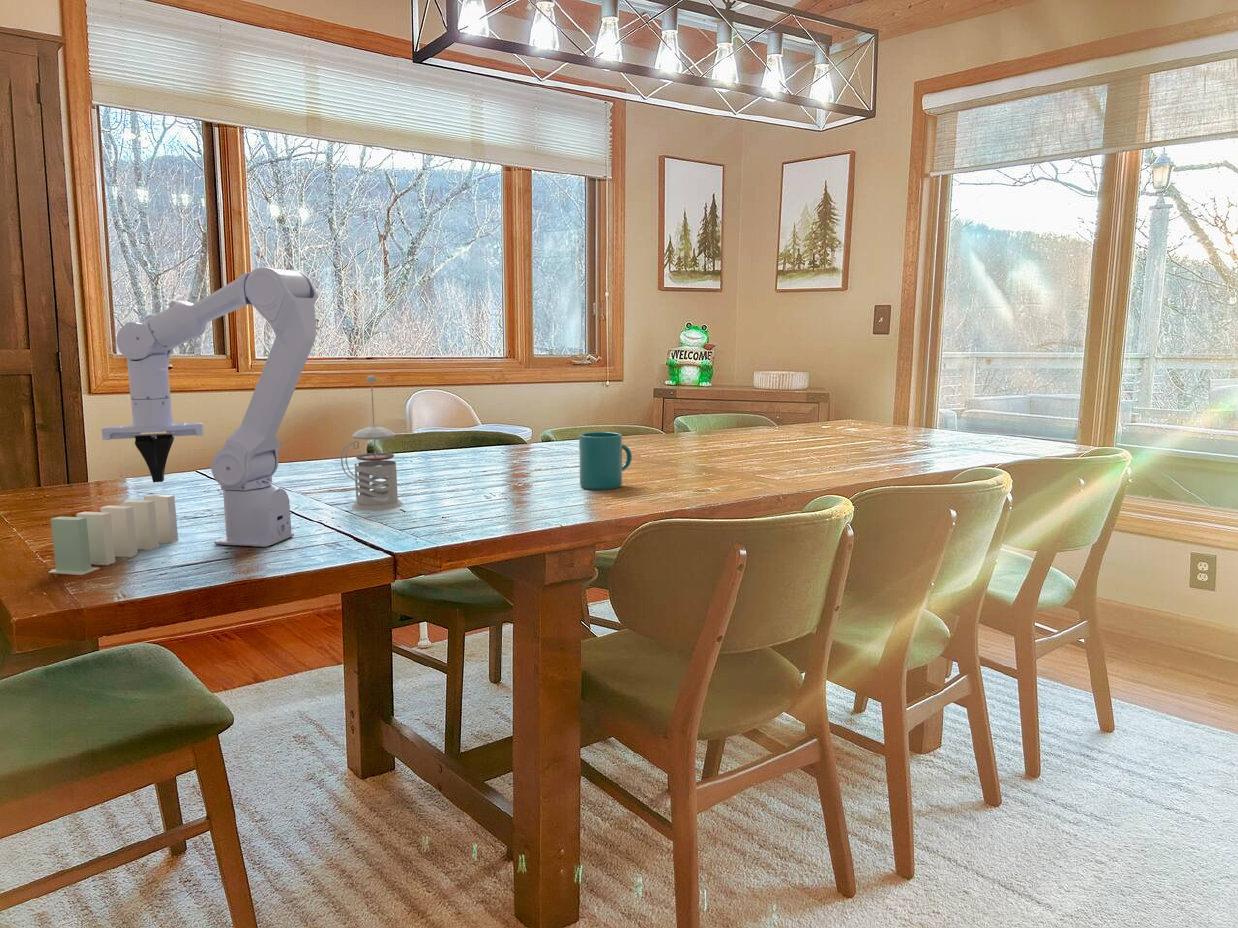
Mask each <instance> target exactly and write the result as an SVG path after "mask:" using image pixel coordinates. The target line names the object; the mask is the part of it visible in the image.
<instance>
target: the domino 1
mask: <svg viewBox="0 0 1238 928" xmlns="http://www.w3.org/2000/svg"><path fill="white" fill-rule="evenodd" d="M50 526H51V536H52V543H53V544H52V545H53V546H52V547H53V554H54V563H55V569H56V570H57V571H74V572H84V571H87V570H90V569H92V568H91V567H92V564H91V559H90V549H89V539H88V529H87V519H86V518H82V517H77V516H57V517H53V518H50Z"/></svg>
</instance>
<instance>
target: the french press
mask: <svg viewBox="0 0 1238 928" xmlns="http://www.w3.org/2000/svg"><path fill="white" fill-rule="evenodd" d="M365 382H366V383H370V385H371V386H370V388H371V409H372V411H371V412H372V425H371V426H367V427H364V428H361V429H358V430H357V431H356V432H355V433H353V434H352V435H351V436H352V437H353V439H356V440H354V441H351V442H350V443H348V444H346V445H345V446H344V447H343V449H342V451H341V455H340V464H341V467H342V470H343V472H344V474H345V475H346V476H347V477H348V478H350V479H352V480H353V481H354V483H355V487H354V488H355V497H356V499H355V502H353V504H352V505H351V508H352V509H353V510H356V511H357V510H358V511H366V512H367V511H368V512H369V511H384V510H385V511H386V510H392V509H397V508H400V507H402V506H403V505H404V503H403V501H402V500H401V499H399V498H398V477H397V476H398V475H397V472H398V471H397V462H396V461H394V460H393V461H392V460H391V459H393V458H394V457H395V454H394V453H390V452H376V450H377V449H376V440H389V439H392V438H395V437H396V435H397V433H395V432H393V430H390V429H388V428H386V427H383V426H382V427H381V426H377V425H375V414H374V413H375V412H374V395H373V394H374V393H373V382H374V383H375V382H377V378H376V376H374V375H368V376H367V377H366V381H365ZM357 440H373V446H374V452H369V453H367V452H366V453H361V454H357V455H355V459H357V460H359V462H358V465H357V463H354V473H353V472H352V471H351V470H350V467H349V464H348V460H347V459H348V457H347V455H348V451H349V449H350V447H351V446H352V445H353V446H352V447H353V449H354V450H357V449H358V448H360V442H359V441H357ZM356 443H357V447H356ZM346 448H347V449H346ZM345 450H346V451H345ZM344 452H345V455H344ZM343 455H344V457H345V466H346V469H347V471H348V473H350V474H351V475H352V476H350V475H349V474H348V473H347V471H346V469H345V467H344V464H343V463H344V461H343ZM370 476H372V477H370ZM353 477H354V478H353ZM380 479H381V480H380ZM382 480H384V481H382ZM378 486H384V487H378ZM358 487H359V488H358Z"/></svg>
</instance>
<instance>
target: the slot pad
mask: <svg viewBox="0 0 1238 928" xmlns="http://www.w3.org/2000/svg"><path fill="white" fill-rule="evenodd" d="M91 568H92V569H90V570H87V571H84V572H74V571H57V570H56V568H55V569H52V570H50V571H48V574H57V575H58V574H60V575H74V576H75V575H76V576H83V575H86V574H90V573H92V572H95V571H98V570H100V569H101V568H100V567H94V566H91Z"/></svg>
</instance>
